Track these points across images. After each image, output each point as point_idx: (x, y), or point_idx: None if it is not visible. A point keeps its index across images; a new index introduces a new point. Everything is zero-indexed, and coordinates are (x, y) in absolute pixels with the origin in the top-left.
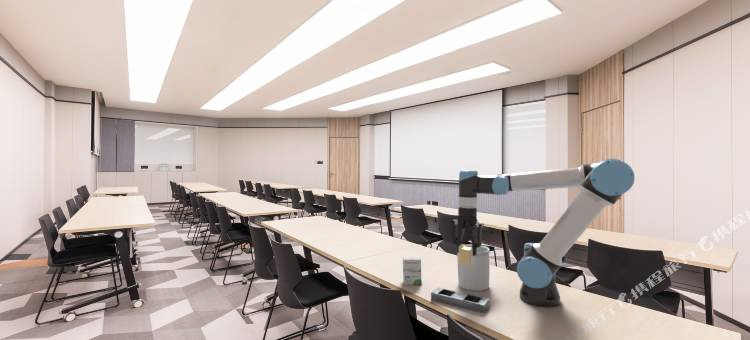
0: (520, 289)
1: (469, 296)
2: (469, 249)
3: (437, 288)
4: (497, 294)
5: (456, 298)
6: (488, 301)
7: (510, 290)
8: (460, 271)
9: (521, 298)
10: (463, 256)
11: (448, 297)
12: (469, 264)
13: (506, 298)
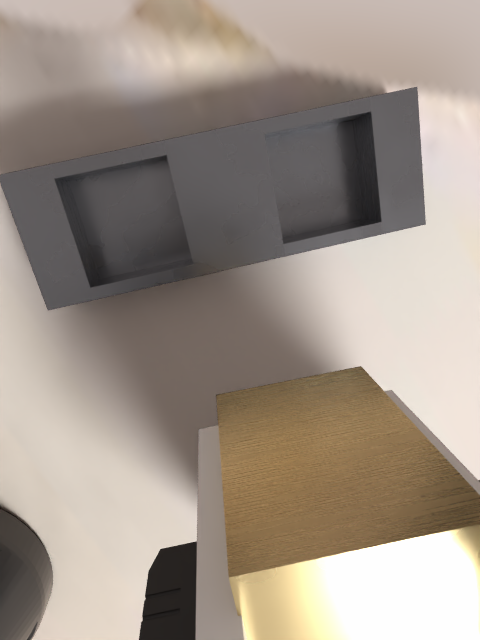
0: (14, 571)
1: (184, 265)
2: (275, 621)
3: (418, 197)
4: (138, 475)
5: (212, 133)
6: (42, 284)
7: (122, 566)
8: None
9: (2, 513)
10: (334, 431)
11: (272, 118)
12: (217, 396)
13: (70, 464)
